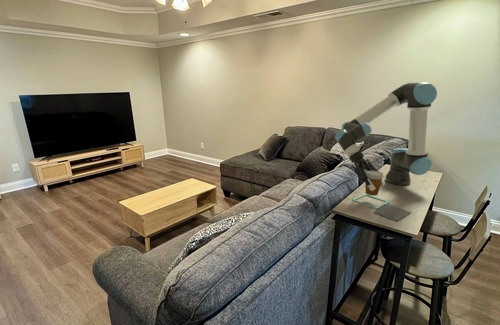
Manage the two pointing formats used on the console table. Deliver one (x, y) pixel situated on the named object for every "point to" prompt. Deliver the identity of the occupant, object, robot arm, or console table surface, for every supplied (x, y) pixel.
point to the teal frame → (372, 197)
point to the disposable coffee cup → (373, 182)
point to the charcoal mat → (392, 212)
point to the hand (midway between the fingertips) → (378, 187)
